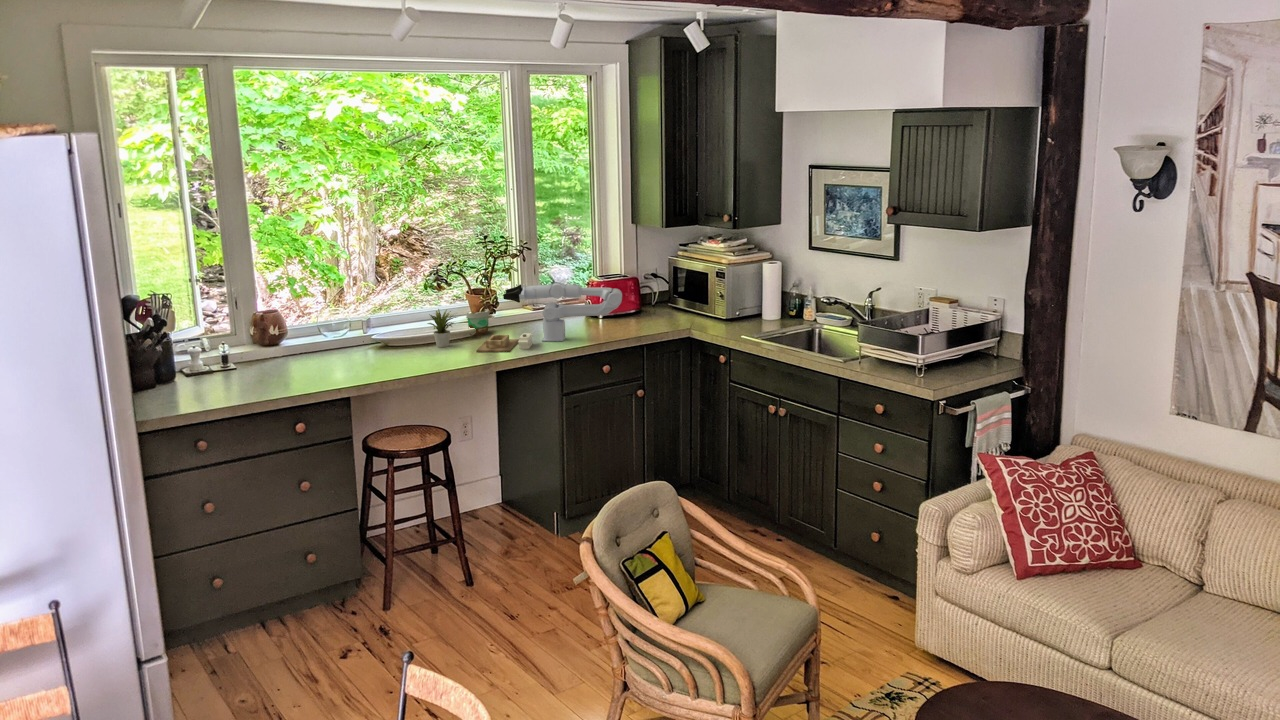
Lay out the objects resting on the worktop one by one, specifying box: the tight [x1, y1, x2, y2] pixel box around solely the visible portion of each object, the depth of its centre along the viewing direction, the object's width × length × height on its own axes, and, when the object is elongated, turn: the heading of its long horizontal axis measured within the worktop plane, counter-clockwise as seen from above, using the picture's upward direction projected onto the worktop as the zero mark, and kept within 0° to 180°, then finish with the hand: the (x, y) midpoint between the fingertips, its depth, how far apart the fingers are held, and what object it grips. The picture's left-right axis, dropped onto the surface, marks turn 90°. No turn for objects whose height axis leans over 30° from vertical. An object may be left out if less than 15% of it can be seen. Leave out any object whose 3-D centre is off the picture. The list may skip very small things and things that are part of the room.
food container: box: [465, 308, 491, 336], centre depth 451 cm, size 12×6×10 cm, turn 143°
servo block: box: [517, 332, 534, 350], centre depth 425 cm, size 4×13×6 cm, turn 175°
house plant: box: [426, 308, 458, 348], centre depth 427 cm, size 14×14×16 cm
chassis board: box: [475, 334, 519, 353], centre depth 427 cm, size 14×20×4 cm
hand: (504, 294), depth 433 cm, fingers open, 7 cm apart
